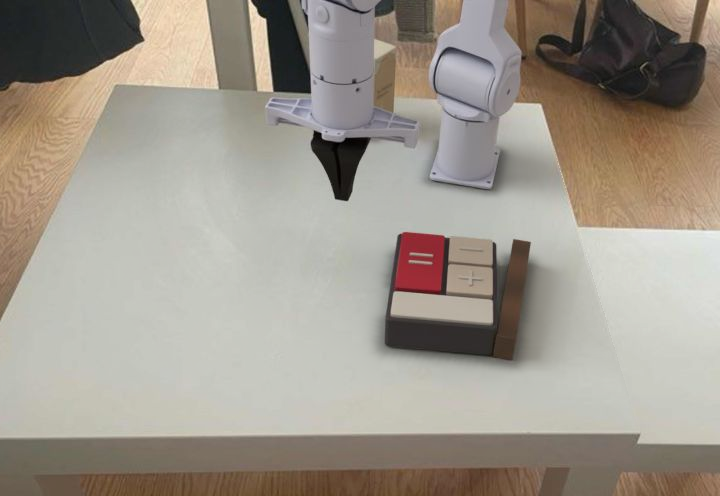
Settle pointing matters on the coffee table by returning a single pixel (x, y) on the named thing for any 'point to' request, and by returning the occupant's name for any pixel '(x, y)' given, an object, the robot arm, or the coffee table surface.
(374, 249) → the coffee table surface
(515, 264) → the rail
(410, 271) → the calculator
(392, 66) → the box
